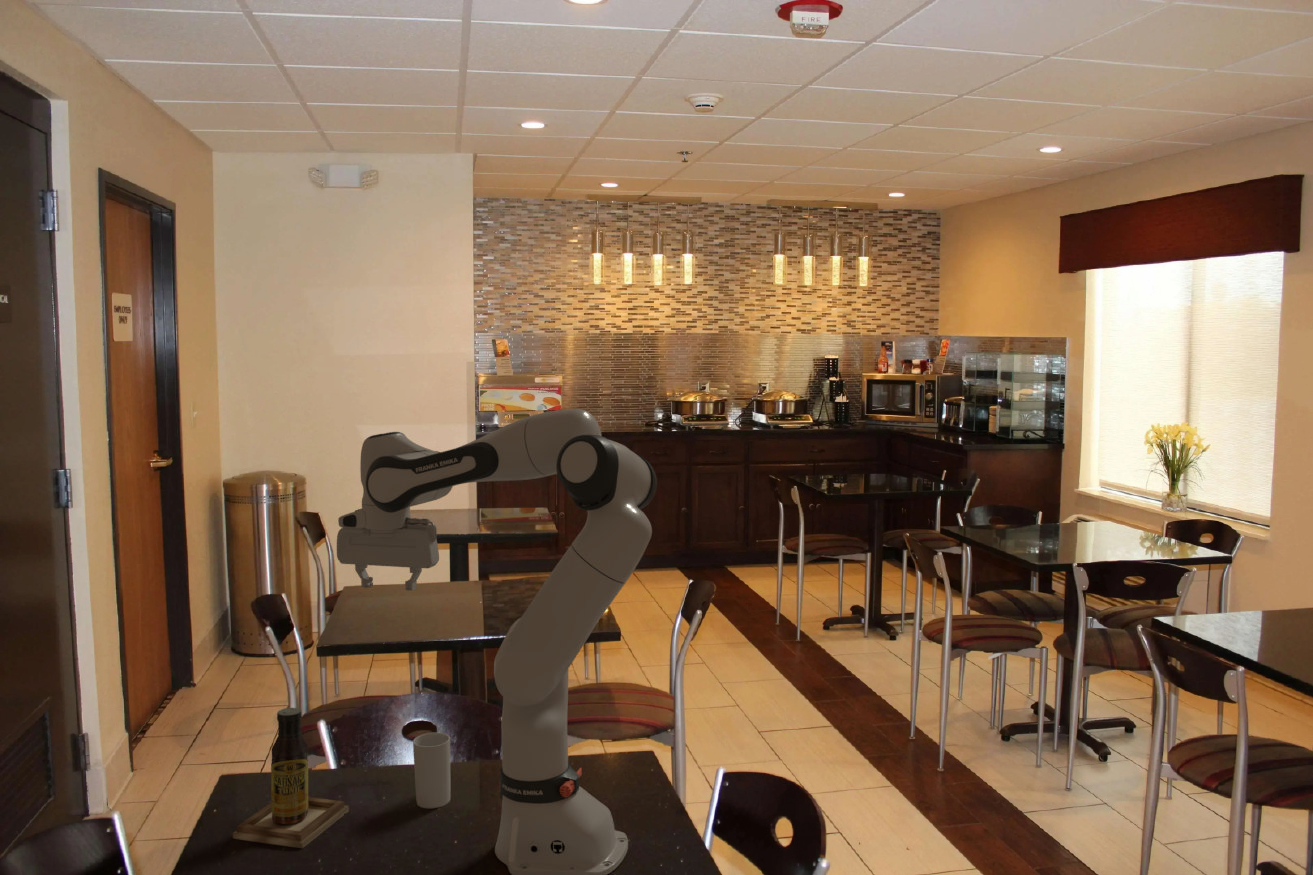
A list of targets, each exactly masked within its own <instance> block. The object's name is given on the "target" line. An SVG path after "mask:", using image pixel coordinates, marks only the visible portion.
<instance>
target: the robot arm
mask: <svg viewBox="0 0 1313 875" xmlns="http://www.w3.org/2000/svg"><path fill="white" fill-rule="evenodd" d="M359 466H360V467H359V470H360V471H359V472H360V483H361V484H362V488H363V489H362V490H363V494H362V498H361V508H359V509H356V510H354V511H353V512H349V513H345V514H344V515H340V516H339V517H338V519H337V520H338V522H337V523H338V526H339V527H340V529H339V530H338V533H337V536H336V559H337V560H338V561H339V563H340V564H342V565H354V569H355V572H356V573H357V575H358V577H359V579H360V580H361V581H360V582H361V588H365V589H366V588H367V589H370V588H372V587H373V585H374V582H373V581H374V577H373V576H369V573H368V572H367V568H368V566H376V567H378V566H379V567H392V568H393V567H394V568H395V567H396V568H397V567H398V568H409V573H410V574H411V576H410V579H408V580H405V582H404V583H405V584H404V585H405V590H406V591H415V590H416V589H417V588H418V587H417V586H418V582H417V580H418V579H419V577H420V575H421V573H422V571H423V569H431V568H434V566H436V565H438V562H439V561H440V554H439V545H438V541H437V536H438V535H437V526H436V525H435V523H434V522H433V521H430V518H415V517H411V507H414V506H419V505H422V504H426V503H430V502H434V501H438V500H440V499H442V498H444V497H446V496H447V495H448V494H449V493H450V492H451V491H452V490H453V487H455V486H459V485H463V484H469V483H470V484H471V483H481V482H482V483H483V482H505V481H507V482H508V481H509V482H510V481H524V480H525V481H527V480H534V479H543V478H546V477H549V476H550V477H551V476H554V475H557V477H558V480H559V482H560V483H561V484H562V486H563V487H564V489H565V490H566V491H567V492H568V494H569V495H570V497H571V499H572V501H573V502H574V504H575V505H576V507H577V508H578V509H579V510H582V511H587V517H586V521H585V524H584V526H583V528H582V529H581V531H580V532H579V533H578V535H577V536H576V537H575V539H574V540H572V543H571V544H570V546H569V547H568V549H567V550H566V551H565V553H564V554H563V555H562V557H561V559H559V561H558V563H556V565H555V567H554V568H553V570H552V571H551V572H550V574H549V575H548V577H547V578H546V579H545V581H544V582H543V584H542V585H541V587H540V588H539V589H538V592H537V593H536V594H535V596H534V598H533V599H532V600H531V602H530V604H529V605H528V607H527V608H526V609H525V611H524V612H523V614H522V615H521V617H519V618H518V619H516V620H515V621H514V622H513V623H512V624H511V626H510V627H509V629H508V630H507V633H506V635H505V637H504V639H503V641H502V643H501V645H500V646H499V648H498V651H497V652H496V655H495V658H494V661H493V662H494V663H493V677H494V682H495V686H496V688H497V690H498V692H499V694H500V695H501V696H502V697H503V699H502V711H501V712H502V714H501V721H500V722H501V723H500V724H501V725H500V726H501V727H500V729H501V730H500V731H501V758H502V759H501V762H502V763H501V764H502V765H501V767H500V769H499V770H500V771H499V791H500V794H499V795H500V799H501V800H502V802H501V805H502V806H501V815H500V824H499V831H498V835H497V840H496V844H495V847H494V853H495V856H496V857H497V859H498V860H499V861H500V862H502V863H503V864H505V866H507V869H508V872H509V873H510V874H511V875H608V874H610V873H612V872H613V871H614V870H616V869H617V867H619V866H620V864H621V863H622V862H623V860H624V858H625V857H626V854H628V853H627V852H628V849H629V841H628V836H627V834H626V833H625V832H624V831H623V832H622V831H620V830H616V828H615V823H614V820H613V816H612V812H611V810H610V808H608V806H606V805H605V804H604V803H602V801H601V802H600V801H599V799H597V798H595V797H594V796H593V795H591V794H590V793H589V792H588V791H587V790H585V789H584V788H583V787H581V786H580V777H581V776H582V774H583V772H582V767H579V769H578V770H577V771H576V770H574V768H573V767H572V765H571V764H570V762H569V752H568V751H569V745H568V743H569V742H568V741H569V740H568V704H569V703H568V701H569V668H570V667H571V665H572V664H573V662H574V661H575V659H576V657H577V655H579V653H580V651H581V650H582V648H583V647H584V644H585V643H586V642H587V640H588V638H589V637H590V635H591V634H592V632H593V630H594V629H595V627H596V626H597V624H598V622H599V621H600V619H601V618H602V616H604V614H605V612H606V611H607V609H608V608H609V607H610V605H611V604H612V602H614V600H615V599H616V597H617V595H618V594H619V592H620V591H621V590H622V588H623V587H624V586H625V585H626V583H627V582H628V580H629V579H630V577H631V575H632V574H633V572H634V571H635V569H637V566H638V564H639V562H640V561H641V559H642V558H643V556H644V553H645V551H646V549H647V548H648V545H649V543H650V541H651V538H652V533H653V529H652V524H651V522H650V520H649V518H648V517H647V515H646V514H645V512H644V511H642V509H644V508H645V507H647V506H648V505H649V504H650V503H651V501H652V500H653V499H654V496H655V494H656V491H657V487H658V479H657V474H656V471H655V470H654V467H653V466H652V465H651V463H650V462H649V461H648V460H646V459H645V457H643V456H642V455H640V454H638V453H636V452H634V451H632V450H631V449H630V448H628V447H627V446H626V445H624V444H621V443H619V442H617V441H614V440H611V439H608V438H606V437H605V436H602V430H601V427H600V424H599V423H598V420H597V419H596V418H595V416H594V415H593V414H591V413H590V412H589V411H587V410H585V409H582V408H567V409H559V410H550V411H545V412H542V413H537V414H533V415H529V416H526V417H523V418H520V419H518V420H516V421H513V422H511V423H509V424H506V425H505V426H504V425H503V426H502V427H500V428H498V429H496V430H493V431H491V432H490V433H488V434H485V435H483V436H482V437H479V438H477V439H474V440H472V441H470V442H467V443H465V444H463V445H460V446H458V447H456V448H452V449H448V450H444V451H441V452H440V451H438V450H434V449H433V450H432V449H429V448H428V447H424V446H422V445H419V444H417V443H415V442H413V441H412V440H410V439H409V437H407V436H406V435H405V433H403V432H400V431H390V432H389V431H388V432H386V433H379V434H373V435H370V436H368V437H366V438H365V439H364V441H363V442H362V446H361V451H360V465H359Z"/></svg>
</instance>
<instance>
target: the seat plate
mask: <svg viewBox="0 0 1313 875" xmlns="http://www.w3.org/2000/svg"><path fill="white" fill-rule="evenodd" d="M349 806H350V805H346V804H345V801H343V800H334V799H327V798H320V797H319V798H318V797H311V796H308V814H307V816H306V817H305V819H304V820H303V821H300V822H297V823H294V824H290V825H281V824H277V823H274V822H273V819H272V812H271V802H270V803H268V804H267V805H265V806H264V807H262V809H260V810H259V811H257V812H255V813H254V814H252V815H251V816H250V817H249V818H248V817H247V819H245V820H244V821H243V822H241V823H240V824H238V825H237V826H236V830H235V831H233V832H232V839H235V840H241V841H248V842H254V843H255V842H256V843H262V844H267V845H268V844H269V845H276V846H283V847H289V848H296V849H297V848H298V849H304V848H305V847H306V846H308V845H309V844H310V843H311V842H313V841H314V840H315V839H316V838H318V836H320V835H321V834H322V833H324V832H325V831H326V830H328V828H330V827H331V826H332V825H334V824H335V823H336V822H338V820H340V819H341V818H342V817H344V816H345V815H346V814H347V813H349V812H350V811H349V810H350V807H349ZM345 813H346V814H345ZM344 814H345V815H344Z"/></svg>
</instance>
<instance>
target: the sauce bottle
mask: <svg viewBox="0 0 1313 875" xmlns="http://www.w3.org/2000/svg"><path fill="white" fill-rule="evenodd" d="M301 719H302V710H301V709H300V708H298V707H285V708H282V709H279V710H278V711H277V712H276V720H277V726H278V732H277V738H276V739H275V742H274V743H273V745H272V747H271V763H270V773H271V774H270V775H271V776H270V778H271V779H270V781H271V782H270V783H271V784H270V787H271V788H270V789H271V790H270V791H271V792H270V793H271V794H270V796H271V799H270V800H271V802H270V803H271V812H272V819H273V822H274V823H277V824H281V825H290V824H294V823H297V822H300V821H303V820H304V819H305V817H306V816H307V814H308V797H309V759H308V743H307V741H306V740H305V739H304V738H303V736H302V729H301Z"/></svg>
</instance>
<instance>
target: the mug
mask: <svg viewBox="0 0 1313 875" xmlns="http://www.w3.org/2000/svg"><path fill="white" fill-rule="evenodd" d="M412 743H413V744H412V745H413V746H412V748H413V749H412V750H413V751H412V752H413V765H414V783H415V798H416V800H415V801H416V804H417V806H418V807H420V808H423V809H428V810H429V809H438V808H442V807H444V806H446V805H447V804H449V803H450V801H451V786H452V785H451V782H452V781H451V736H450V735H449V734H446V733H442V732H428V733H424V734H420V735H418V736H416V737H415V738H413V740H412Z"/></svg>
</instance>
